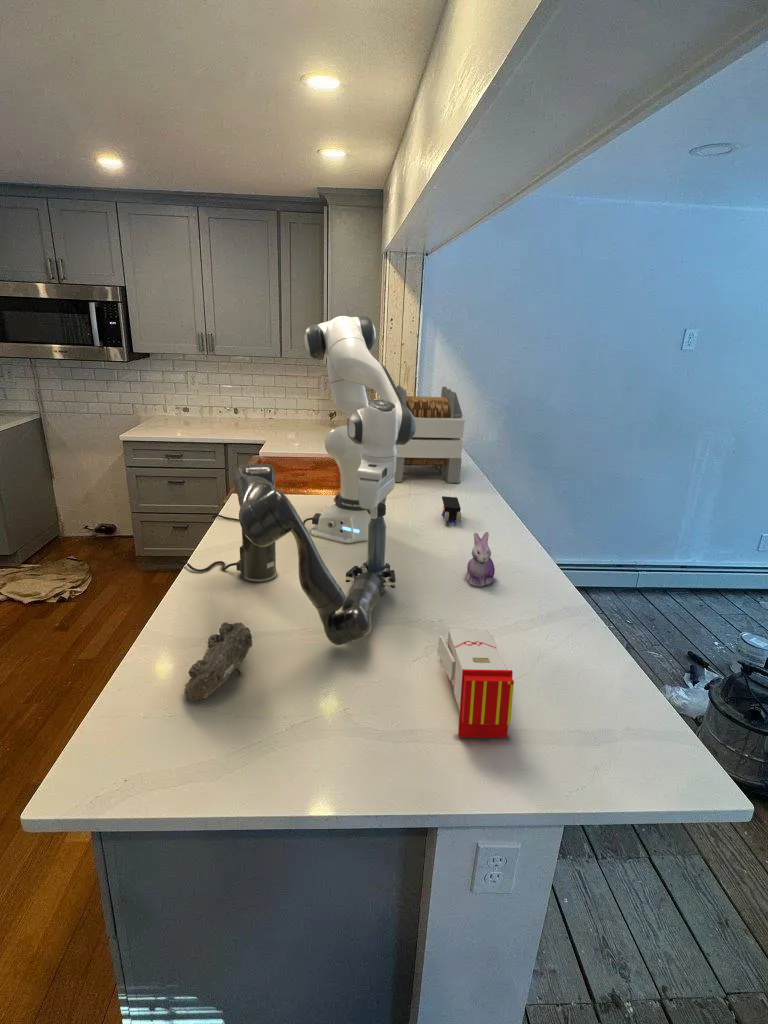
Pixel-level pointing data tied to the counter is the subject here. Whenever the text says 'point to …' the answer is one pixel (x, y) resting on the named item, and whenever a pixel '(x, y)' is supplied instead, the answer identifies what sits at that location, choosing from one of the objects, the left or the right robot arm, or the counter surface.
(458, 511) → the figurine character
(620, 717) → the counter surface
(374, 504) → the right robot arm
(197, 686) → the fossil
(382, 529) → the bottle
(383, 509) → the cap
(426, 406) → the transformer
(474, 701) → the toy
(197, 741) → the counter surface
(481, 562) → the figurine
